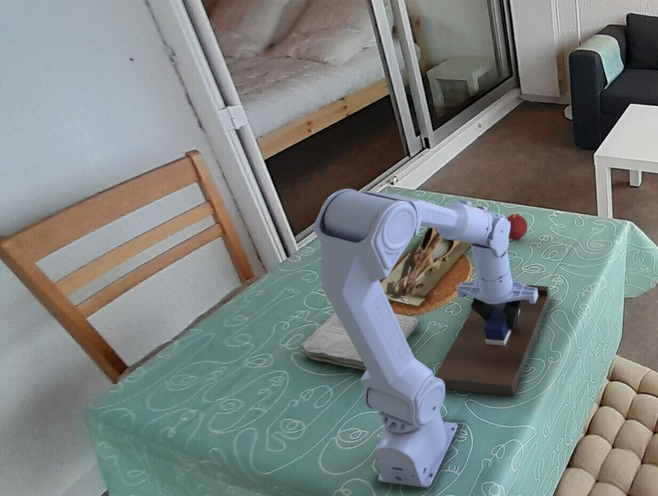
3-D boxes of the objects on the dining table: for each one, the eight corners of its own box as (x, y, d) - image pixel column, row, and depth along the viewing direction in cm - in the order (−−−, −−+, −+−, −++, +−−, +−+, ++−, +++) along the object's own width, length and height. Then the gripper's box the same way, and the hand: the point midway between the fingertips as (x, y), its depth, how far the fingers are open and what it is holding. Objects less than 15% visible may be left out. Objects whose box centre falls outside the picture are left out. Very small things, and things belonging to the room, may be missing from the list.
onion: (502, 236, 124) (498, 209, 120) (525, 230, 126) (521, 203, 123) (507, 249, 119) (503, 222, 116) (531, 243, 121) (527, 216, 118)
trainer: (504, 345, 91) (501, 330, 89) (485, 344, 91) (482, 328, 90) (520, 311, 98) (517, 295, 97) (502, 309, 99) (499, 294, 97)
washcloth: (344, 310, 102) (340, 299, 101) (422, 324, 99) (419, 312, 98) (297, 358, 92) (292, 347, 91) (383, 375, 88) (378, 363, 87)
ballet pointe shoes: (485, 206, 125) (419, 283, 100) (488, 227, 128) (425, 308, 103) (435, 199, 127) (359, 273, 103) (440, 220, 130) (367, 297, 105)
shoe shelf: (514, 396, 85) (511, 380, 83) (436, 388, 86) (431, 372, 84) (550, 300, 104) (548, 286, 102) (486, 295, 106) (483, 281, 104)
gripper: (539, 257, 91) (546, 312, 97) (464, 252, 93) (475, 306, 99) (527, 285, 85) (535, 341, 91) (446, 278, 87) (460, 335, 93)
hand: (503, 325), depth 95 cm, fingers closed on trainer, 3 cm apart
